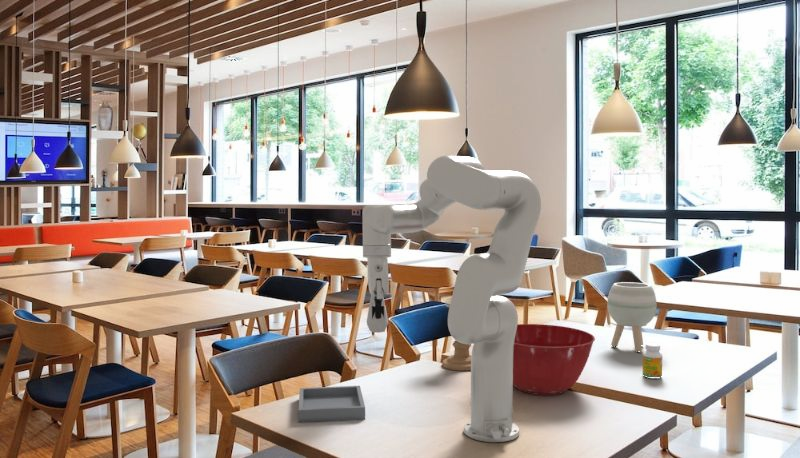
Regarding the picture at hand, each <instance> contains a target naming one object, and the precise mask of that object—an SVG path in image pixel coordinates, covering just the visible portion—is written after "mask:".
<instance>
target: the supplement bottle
mask: <svg viewBox="0 0 800 458" xmlns="http://www.w3.org/2000/svg"><path fill="white" fill-rule="evenodd" d="M660 350H661V345H660V344H659V343H655V342H653V343H652V342H651V343H650V342H649V343H645V351H643V353H642V376H643V375H644V376H647V377H661V376H662V377H663V353H662V352H661V351H660Z"/></svg>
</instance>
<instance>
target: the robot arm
mask: <svg viewBox="0 0 800 458" xmlns="http://www.w3.org/2000/svg"><path fill="white" fill-rule="evenodd" d="M419 197H420V199H419V200H417V201H416V202H414V203H410V204H409V203H406V204H405V203H403V204H399V203H398V204H386V205H385V204H369V205H365V206H364V207H363V209H362V258H366V259H367V261H366V264H367V285H368V291H369V294H370V295H371V294H372V295H373V306H372V319H373V316H374V313H375V317H376V319H380V318H381V313H382V315H383V317H384V306H383V297H384V294H385V295H389V294H390V289H389V288H390V285H389V284H390V283H389V261H388V258H391V257H392V235H397V234H399V235H400V234H409V233H410V234H411V233H412V234H413V233H417V232H421V231H423V230H425V229H427V228H428V227H430V226H432V225H433V224H435V223H437V221H438V222H439V220H440V219H441V218H442V215H443V214H444V212H445V210H446V209H447V208H449V207H450V206H452V205H454V204H456V203H459V204H461V205H463V206H465V207H468V208H471V209H475V210H480V211H481V210H482V211H485V210H486V211H487V210H488V211H489V210H504V212H503V215H502V216H501V217H500V219H499V220H498V221H497V224H496V226H495V227H494V230H493V234H492V239H491V241H490V246H489V248H488V250H487V252H483V253H477V254H473V255H470V256H469V257H467V258H466V259H465V260H464V261H463V262H462V263H461V265H460V267H459V268H458V271H457V274H456V278H455V283H454V287H453V291H452V295H451V298H450V299H451V300H450V301H451V303H450V307H448V314H447V327H448V331H449V333H450V336H451V337H452V338H453V340H454V341H457V342H459V343H462V344H471V345H472V349H471V350H472V351H471V370H470V421H468V422H466V423H465V424H464V426H463V432H464V435H466V437H468V438H470V439H473V440H476V441H479V442H486V443H504V442H505V443H506V442H510V441H513V440H515V439H516V438H518V437H519V435H520V428H519V426H518V425H517V424H515V423H513V422H514V421H513V416H514V414H513V409H514V408H513V406H514V405H513V404H514V403H513V401H514V390H513V389H514V385H513V352H514V341H515V335H516V330H517V324H519V323H518V322H519V318H518V317H519V315H518V311H517V308H516V306H515V304H514V303H513V301H511V300H510V299H509V298H508V297H505V296H504V295H505V294H510V293H513V292H515V291H516V290H517V289H518V288H519V287H520V286H521V283H522V280H523V278H524V275H525V274H524V273H525V270H526V265H527V262H528V261H527V260H528V258H529V254H530V249H531V245H532V240H533V237H534V234H535V231H536V228H537V225H538V221H539V219H540V216H541V209H542V197H541V194H540V191H539V189H538V186H537V184H536V183H535V182H534V180H532V179H531V177H529V176H528V175H526V174H524V173H522V172H519V171H515V170H504V169H503V170H502V169H501V170H500V169H499V170H491V169H490V170H489V169H488V170H487V169H485V167H484V165H483V163H481V162H480V161H479V159H477V158H474V157H473V156H472V157H471V156H465V155H464V156H463V155H462V156H461V155H442V156H439V157H437V158H435V159H433V161H432V162H431V163H430V165H429V166H428V169H427V172H426V179H425V180H424V181H422V183H420V185H419ZM374 289H375V293H377V294H374ZM383 290H384V292H383ZM381 292H382V294H381Z"/></svg>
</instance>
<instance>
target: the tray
mask: <svg viewBox="0 0 800 458" xmlns="http://www.w3.org/2000/svg"><path fill="white" fill-rule="evenodd" d="M298 396H299V398H298V423H313V422H314V423H316V422H335V421H336V422H338V421H339V422H340V421H357V420H358V421H359V420H361V421H362V420H366V406H365V401H364V397H363V393H362V389H361V385H346V386H345V385H344V386H322V387H321V386H318V387H299V395H298Z"/></svg>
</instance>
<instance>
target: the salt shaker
mask: <svg viewBox="0 0 800 458" xmlns="http://www.w3.org/2000/svg"><path fill="white" fill-rule="evenodd" d="M383 293H384V290H383ZM374 294H377V293H375V289H374ZM381 294H382V292H381ZM372 306H373V295H372V294H371V293H370V300H369V307H368V310H367V318H366V325H367V327H368V328H367V329H368V330H369V332H371V333H378V334H379V333H385V332H386V329H387V328H388V325H389V318H388V312H387V307H386V304H385V298H384V296H383V306H384V317H383V315H382V313H381V318H380V319H376V317H375V313H374V316H373V319H372Z"/></svg>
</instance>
